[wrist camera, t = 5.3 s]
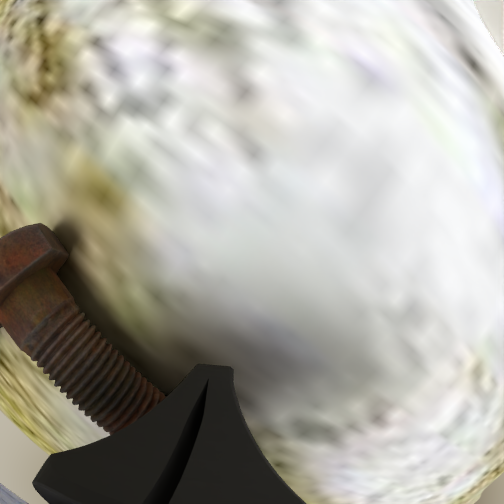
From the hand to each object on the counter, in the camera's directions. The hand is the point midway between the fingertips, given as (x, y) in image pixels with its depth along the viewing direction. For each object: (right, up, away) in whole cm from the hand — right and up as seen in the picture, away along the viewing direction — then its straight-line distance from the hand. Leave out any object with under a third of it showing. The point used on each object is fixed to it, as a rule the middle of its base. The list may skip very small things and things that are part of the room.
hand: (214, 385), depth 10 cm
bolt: (-4, -1, +2) cm, 5 cm away
